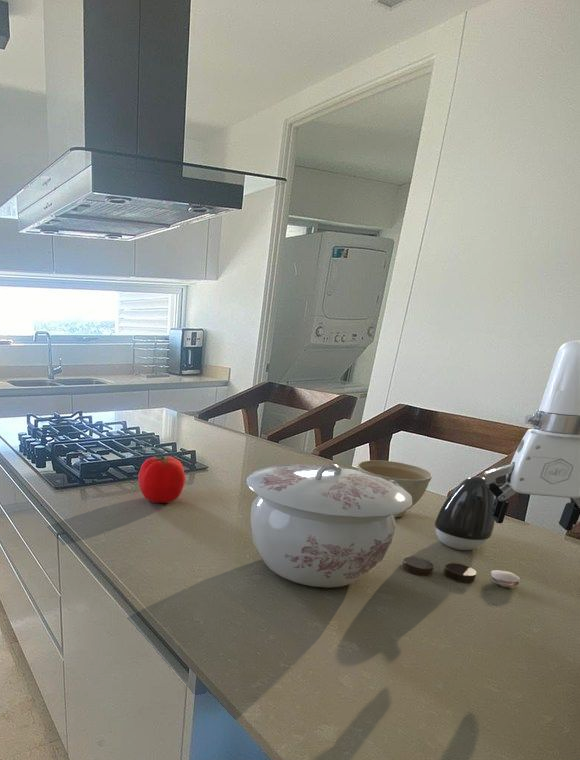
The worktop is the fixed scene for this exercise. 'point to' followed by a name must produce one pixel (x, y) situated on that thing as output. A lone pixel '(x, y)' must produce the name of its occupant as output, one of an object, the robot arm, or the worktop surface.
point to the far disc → (417, 566)
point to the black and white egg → (467, 515)
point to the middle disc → (459, 572)
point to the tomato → (161, 479)
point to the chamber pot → (323, 521)
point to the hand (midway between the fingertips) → (530, 524)
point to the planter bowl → (400, 476)
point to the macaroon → (504, 578)
